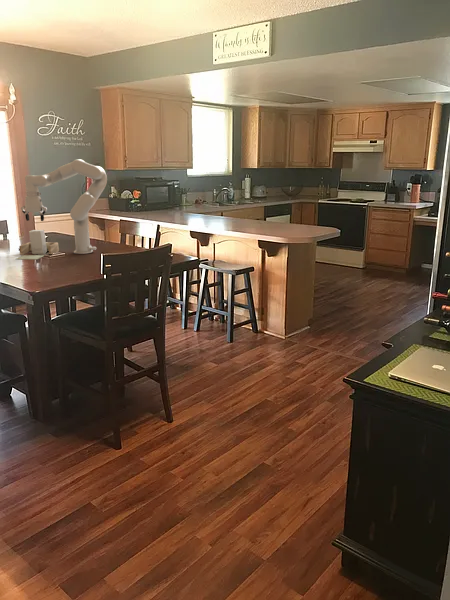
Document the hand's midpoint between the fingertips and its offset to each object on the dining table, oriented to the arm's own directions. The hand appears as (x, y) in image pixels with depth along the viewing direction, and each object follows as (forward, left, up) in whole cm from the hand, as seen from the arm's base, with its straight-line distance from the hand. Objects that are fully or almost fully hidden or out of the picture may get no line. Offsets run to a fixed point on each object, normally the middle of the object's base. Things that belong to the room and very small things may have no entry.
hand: (35, 220), depth 330 cm
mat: (0, +15, -22) cm, 27 cm away
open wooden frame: (0, 0, -22) cm, 22 cm away
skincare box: (0, 0, -22) cm, 22 cm away
